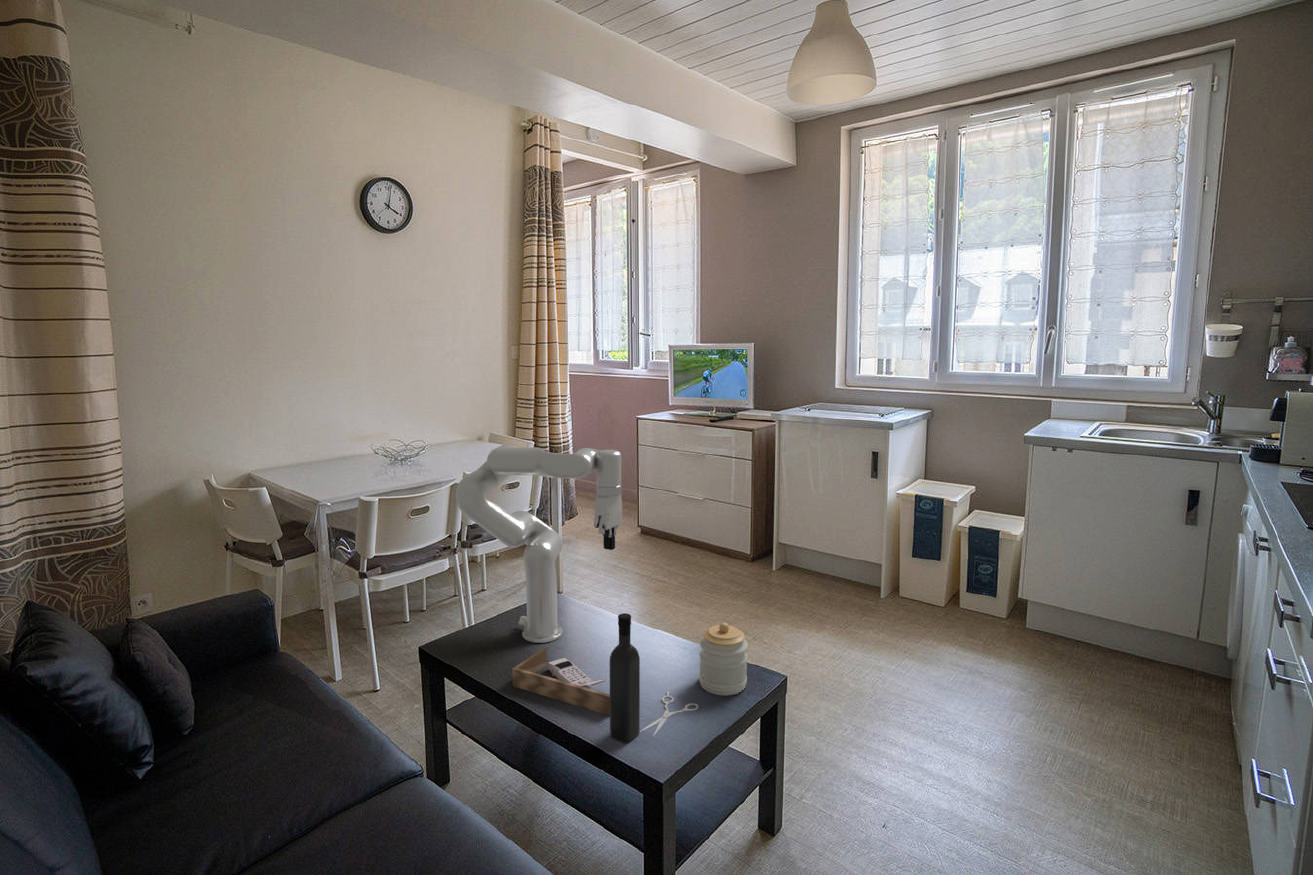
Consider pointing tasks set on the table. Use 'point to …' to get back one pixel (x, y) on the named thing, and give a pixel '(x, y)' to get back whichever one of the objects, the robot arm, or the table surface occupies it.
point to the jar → (723, 660)
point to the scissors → (668, 713)
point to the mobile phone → (570, 673)
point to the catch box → (557, 685)
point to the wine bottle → (624, 685)
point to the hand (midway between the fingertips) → (609, 548)
